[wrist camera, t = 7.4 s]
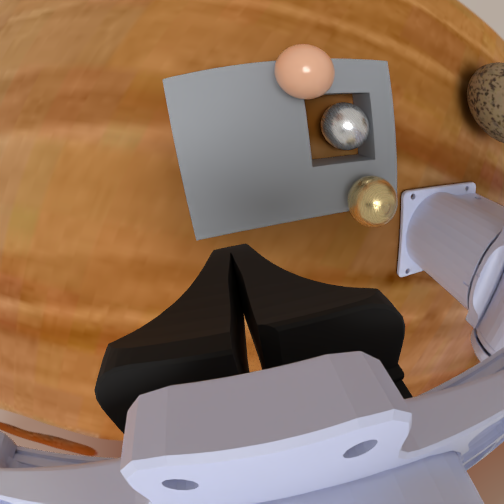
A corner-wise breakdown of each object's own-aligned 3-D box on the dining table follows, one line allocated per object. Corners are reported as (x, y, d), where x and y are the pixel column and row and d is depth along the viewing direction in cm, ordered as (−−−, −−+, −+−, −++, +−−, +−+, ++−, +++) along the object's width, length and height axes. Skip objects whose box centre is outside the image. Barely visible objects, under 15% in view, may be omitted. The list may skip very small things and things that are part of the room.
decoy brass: (380, 168, 18) (407, 179, 15) (380, 213, 20) (406, 230, 17) (337, 174, 18) (361, 185, 15) (340, 220, 19) (362, 239, 16)
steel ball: (345, 94, 18) (309, 119, 19) (354, 92, 15) (312, 121, 16) (371, 131, 19) (336, 155, 20) (384, 135, 16) (344, 163, 17)
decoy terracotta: (317, 49, 14) (339, 38, 11) (325, 99, 16) (348, 96, 13) (264, 52, 14) (277, 39, 11) (273, 103, 16) (287, 100, 13)
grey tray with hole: (369, 65, 17) (387, 61, 15) (379, 193, 22) (396, 202, 19) (168, 84, 16) (162, 79, 14) (197, 226, 21) (196, 240, 18)
